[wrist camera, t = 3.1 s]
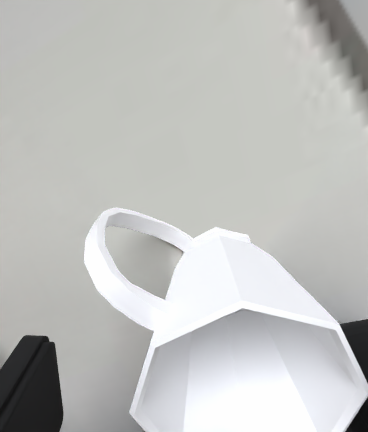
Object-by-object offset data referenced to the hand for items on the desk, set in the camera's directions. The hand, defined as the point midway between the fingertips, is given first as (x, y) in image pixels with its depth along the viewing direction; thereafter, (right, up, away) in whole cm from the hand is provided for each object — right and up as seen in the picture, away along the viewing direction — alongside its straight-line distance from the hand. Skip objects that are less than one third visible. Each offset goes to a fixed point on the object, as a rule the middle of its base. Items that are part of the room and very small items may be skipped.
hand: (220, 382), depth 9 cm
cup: (0, +3, +8) cm, 8 cm away
